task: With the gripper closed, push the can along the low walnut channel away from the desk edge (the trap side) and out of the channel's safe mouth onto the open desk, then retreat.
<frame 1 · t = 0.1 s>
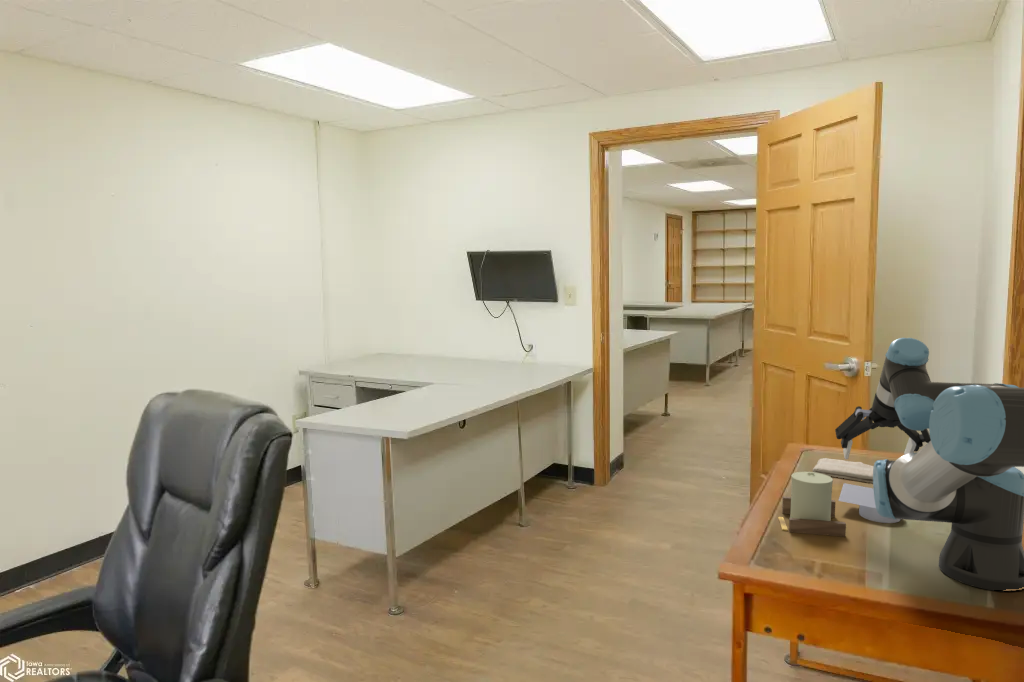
hand: (875, 456, 167), 15 cm above the table, tool tilted 35°, fingers open, 13 cm apart
channel: (812, 523, 165), on the table
wedge on round base: (870, 515, 170), on the table
can: (810, 524, 165), on the table
washcloth: (847, 475, 203), on the table
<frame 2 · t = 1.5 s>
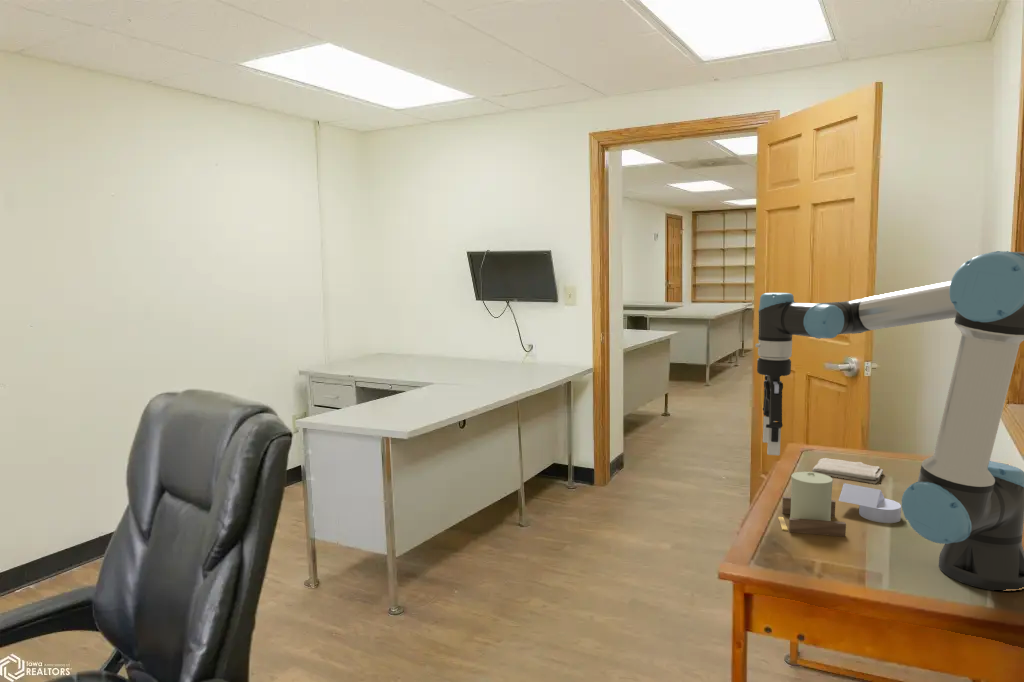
hand: (771, 448, 165), 18 cm above the table, tool pointing down, fingers open, 10 cm apart
nothing on the table moved.
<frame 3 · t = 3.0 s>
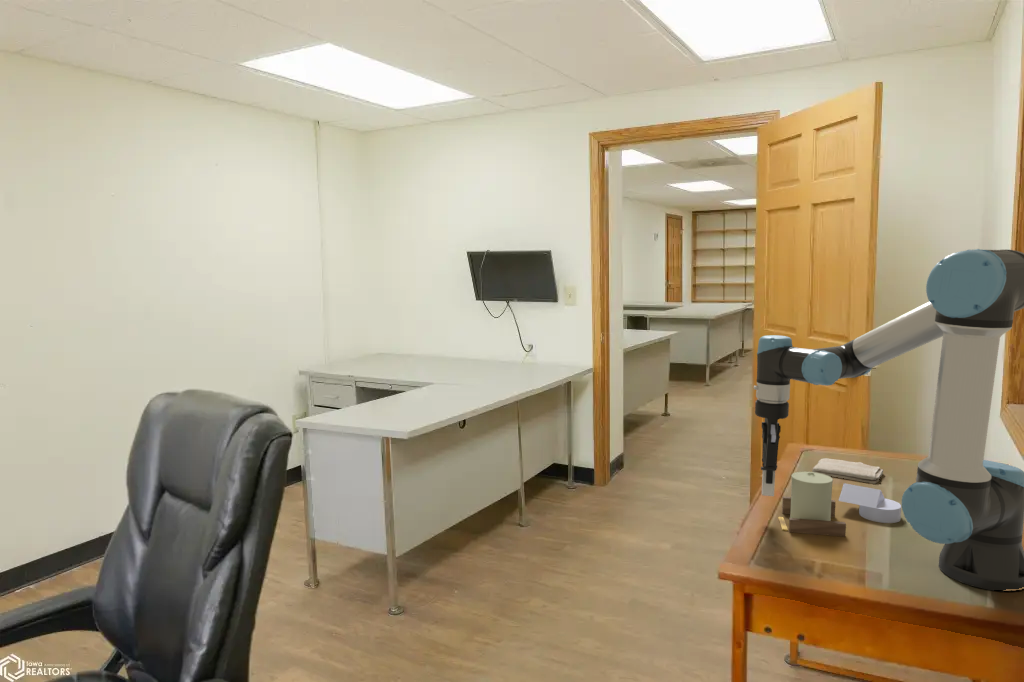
hand: (767, 494, 167), 6 cm above the table, tool pointing down, fingers closed
nothing on the table moved.
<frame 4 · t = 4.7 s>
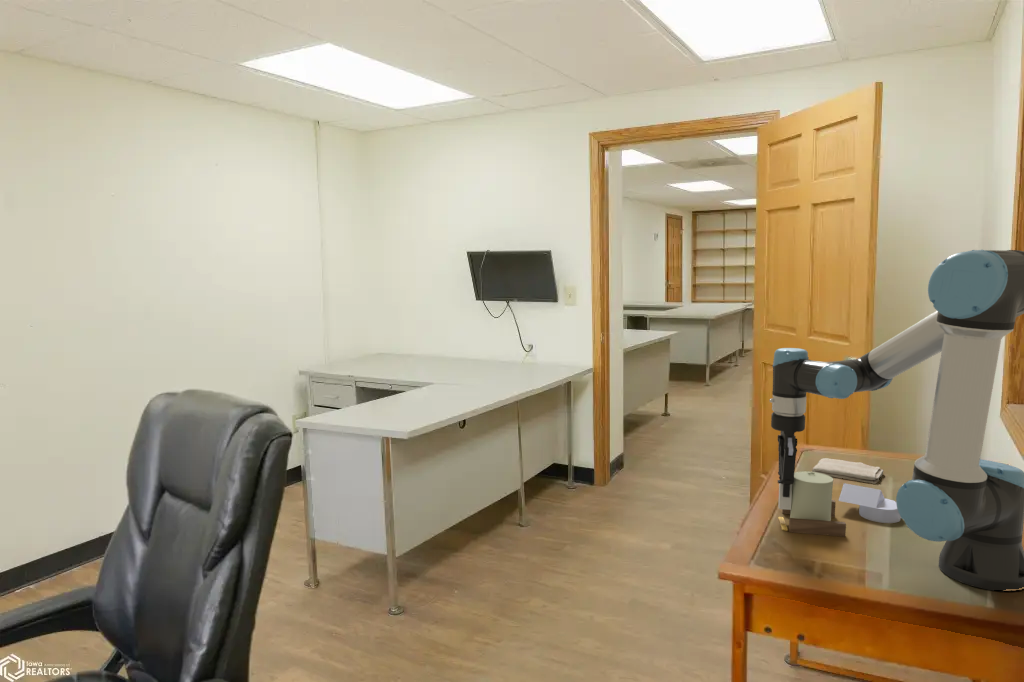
hand: (784, 508, 166), 3 cm above the table, tool pointing down, fingers closed
can: (810, 524, 165), on the table, touching gripper
everything else where it was.
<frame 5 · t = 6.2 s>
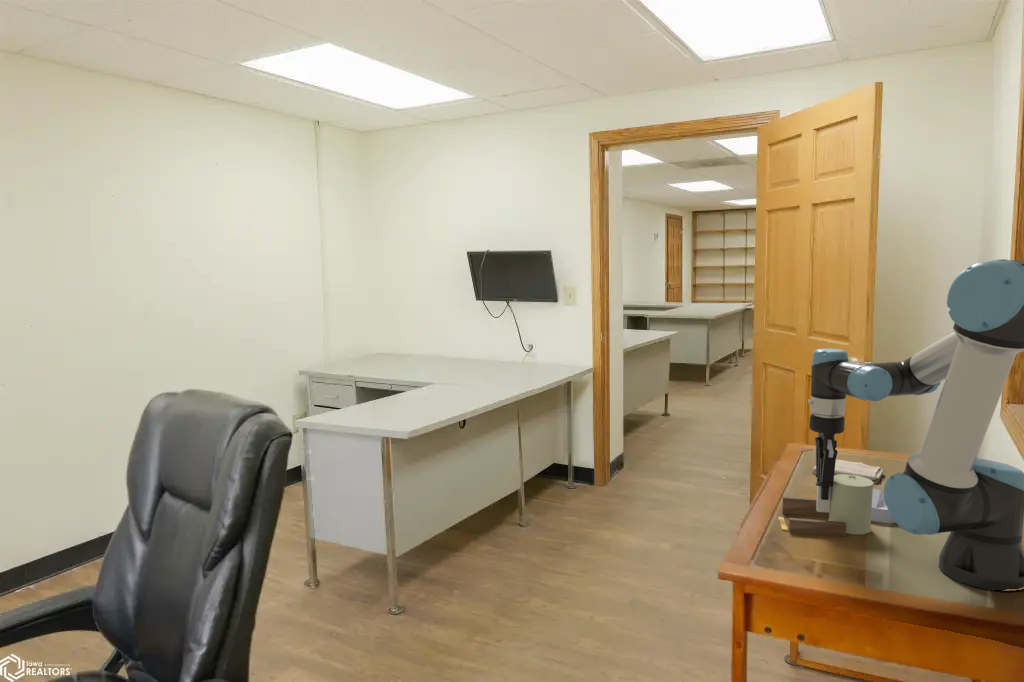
hand: (822, 511, 163), 3 cm above the table, tool pointing down, fingers closed
can: (849, 527, 162), on the table, touching gripper
everything else where it was.
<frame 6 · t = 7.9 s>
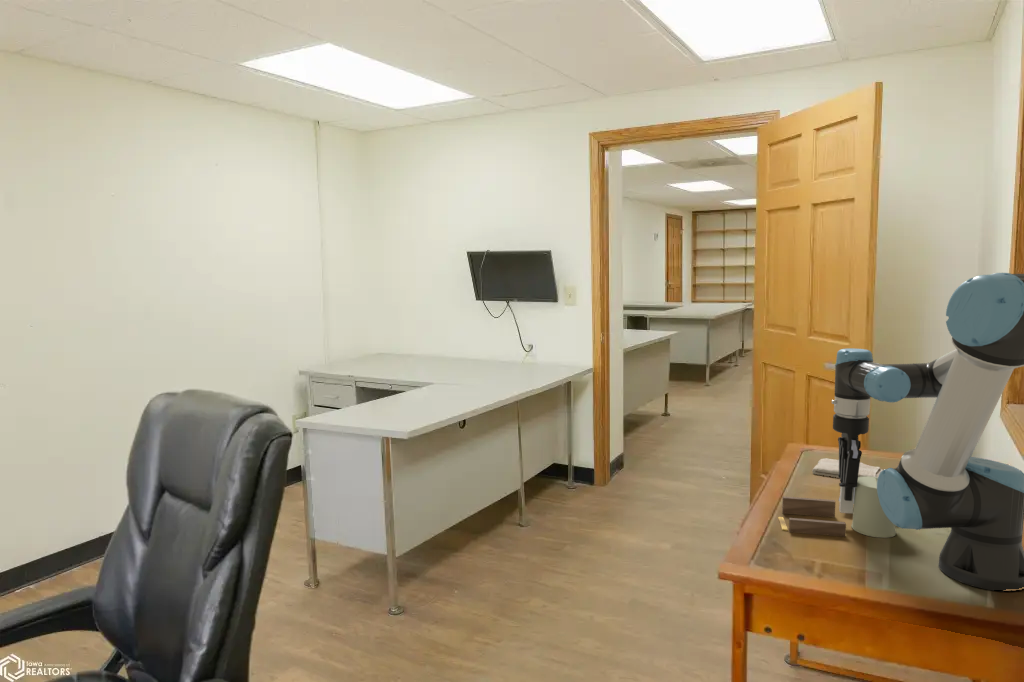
hand: (846, 511, 162), 4 cm above the table, tool pointing down, fingers closed
can: (873, 530, 160), on the table, touching gripper
everything else where it was.
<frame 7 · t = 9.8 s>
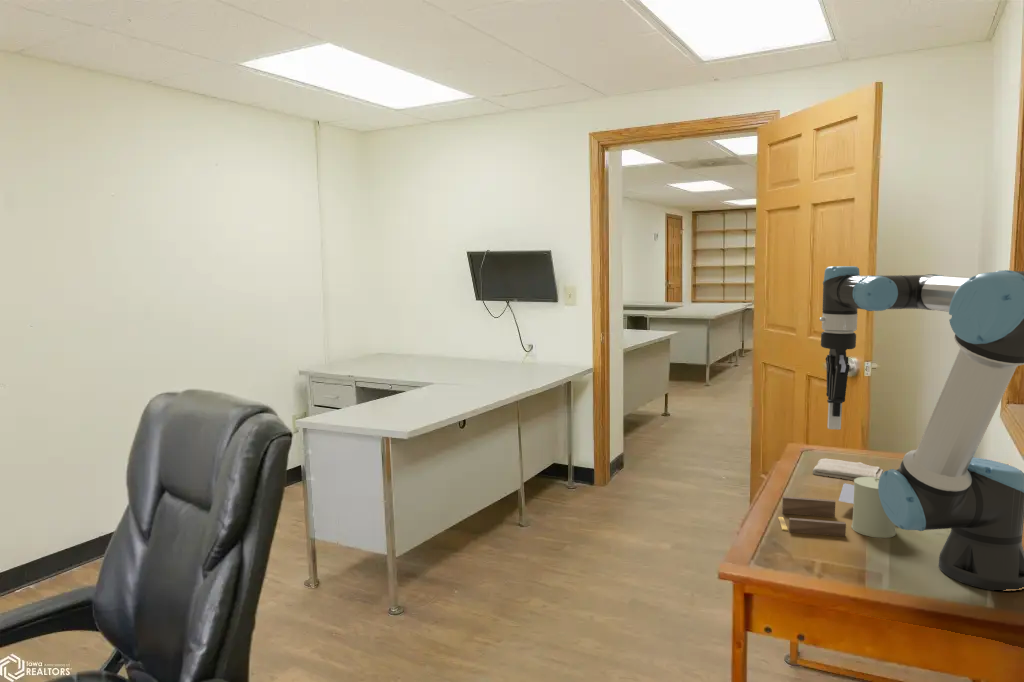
hand: (834, 428, 165), 23 cm above the table, tool pointing down, fingers closed
can: (873, 531, 160), on the table
everything else where it was.
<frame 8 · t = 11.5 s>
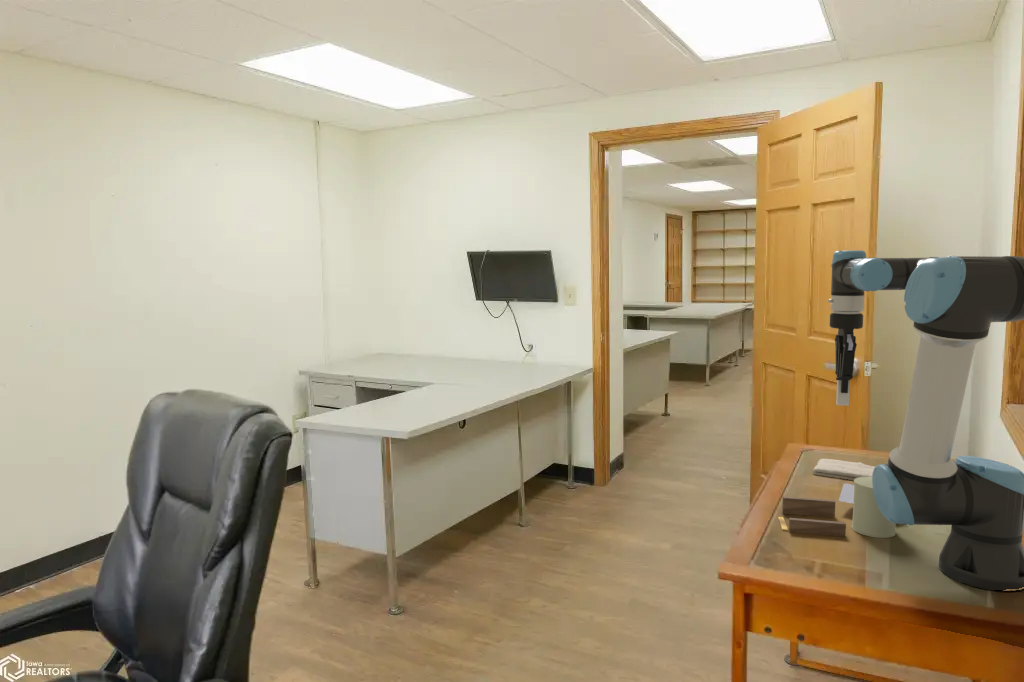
hand: (842, 404, 174), 26 cm above the table, tool pointing down, fingers closed
nothing on the table moved.
at the end: can inside the target area (1.6 cm from its centre), on the table; can tilted 0° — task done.
